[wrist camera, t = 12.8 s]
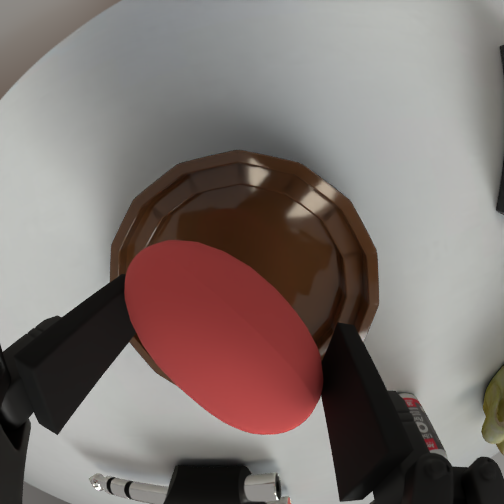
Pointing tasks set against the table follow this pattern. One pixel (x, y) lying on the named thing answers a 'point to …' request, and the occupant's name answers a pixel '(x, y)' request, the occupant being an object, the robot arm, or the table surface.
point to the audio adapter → (200, 487)
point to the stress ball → (224, 336)
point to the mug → (494, 411)
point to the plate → (263, 235)
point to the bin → (503, 199)
